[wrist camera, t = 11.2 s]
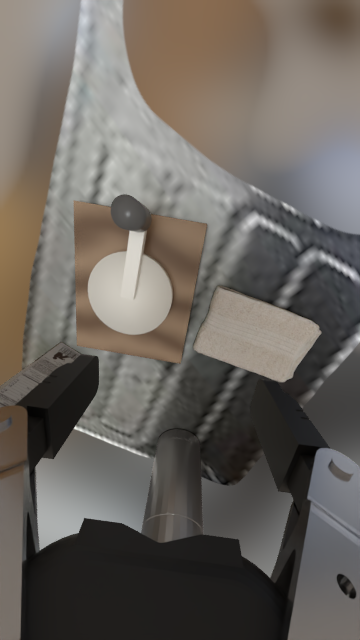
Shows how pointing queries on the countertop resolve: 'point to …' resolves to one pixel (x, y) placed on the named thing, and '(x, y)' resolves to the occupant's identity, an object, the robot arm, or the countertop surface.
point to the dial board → (161, 244)
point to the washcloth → (255, 335)
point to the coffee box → (35, 374)
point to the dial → (130, 277)
